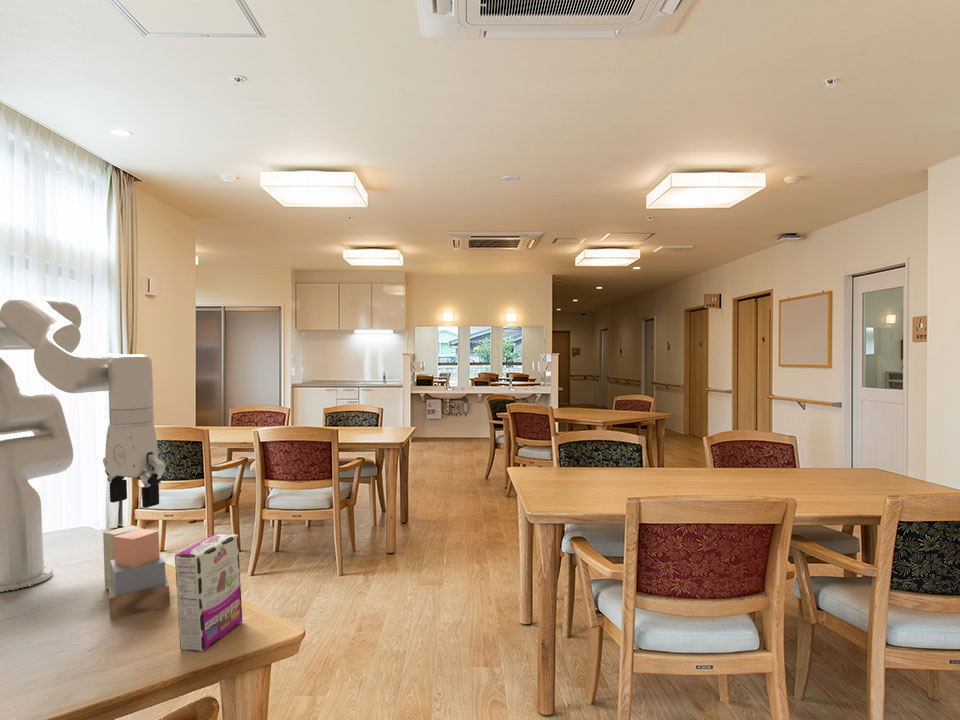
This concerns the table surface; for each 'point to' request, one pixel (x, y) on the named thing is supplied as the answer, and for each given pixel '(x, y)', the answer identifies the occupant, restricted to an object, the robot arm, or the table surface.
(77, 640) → the table surface
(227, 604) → the candy bar box
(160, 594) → the walnut base block
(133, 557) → the terracotta cube
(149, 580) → the slate grey top block
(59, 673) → the table surface
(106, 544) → the skincare box
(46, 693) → the table surface
